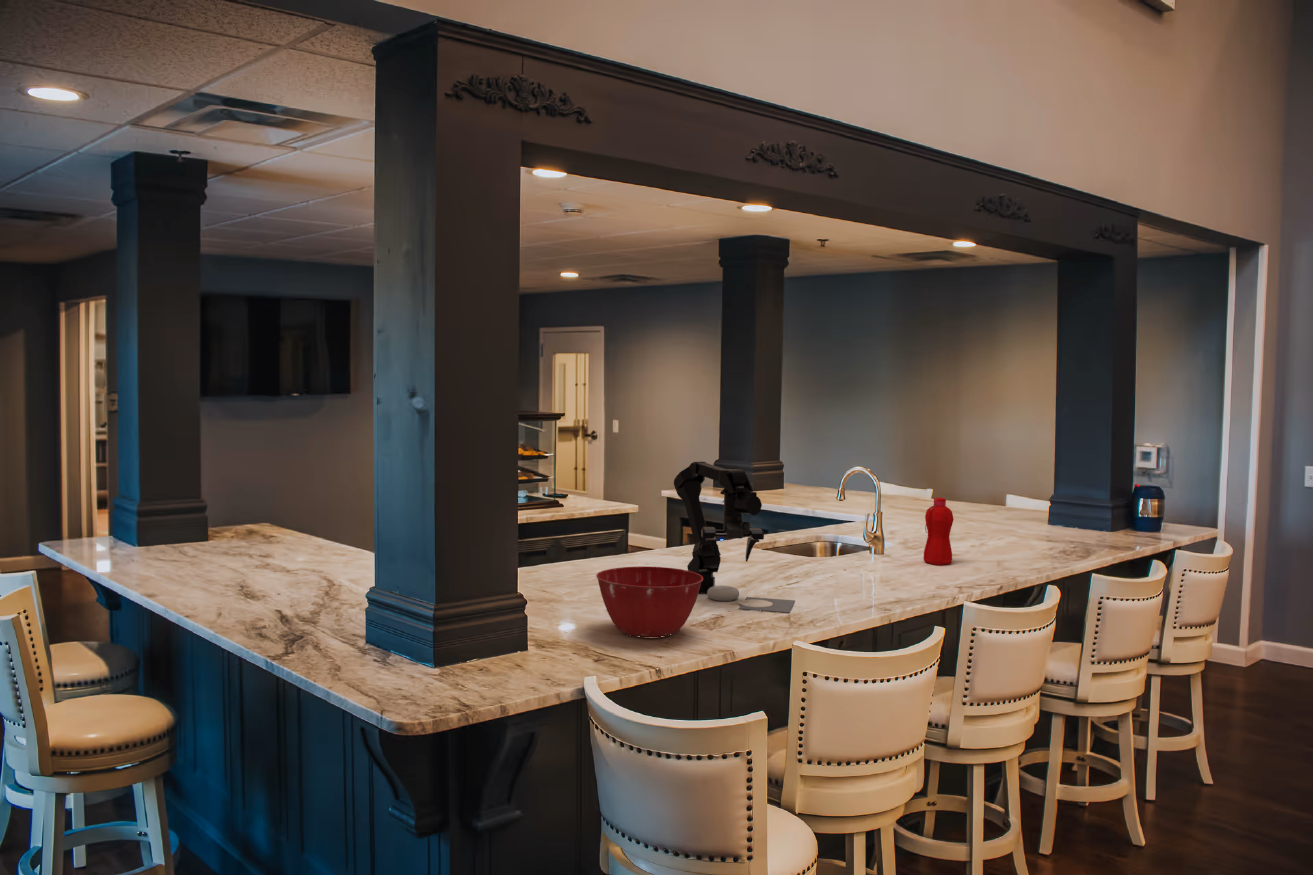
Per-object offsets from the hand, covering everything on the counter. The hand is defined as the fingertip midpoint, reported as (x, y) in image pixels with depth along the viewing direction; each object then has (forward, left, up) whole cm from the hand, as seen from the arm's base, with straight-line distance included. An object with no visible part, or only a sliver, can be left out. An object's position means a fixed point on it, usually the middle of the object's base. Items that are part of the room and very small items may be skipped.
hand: (731, 560), depth 296 cm
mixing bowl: (-15, -44, -13) cm, 48 cm away
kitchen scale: (+12, -3, -12) cm, 17 cm away
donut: (+1, -2, -11) cm, 11 cm away
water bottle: (+64, +87, -13) cm, 109 cm away
